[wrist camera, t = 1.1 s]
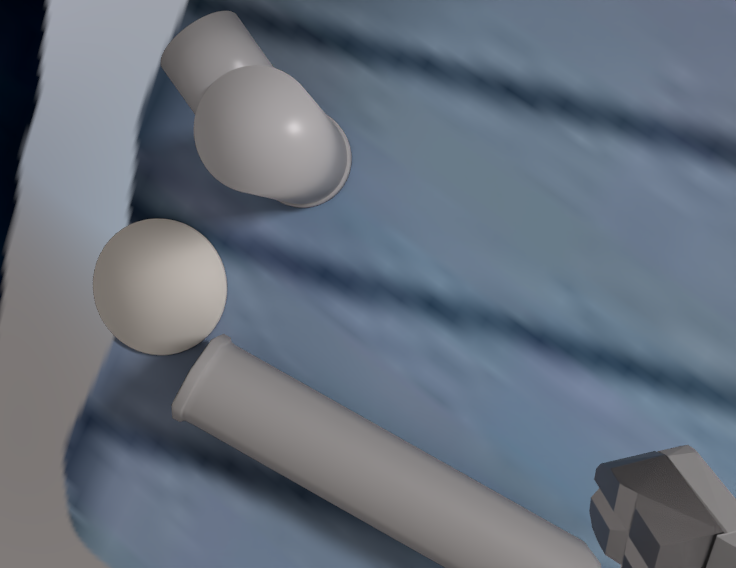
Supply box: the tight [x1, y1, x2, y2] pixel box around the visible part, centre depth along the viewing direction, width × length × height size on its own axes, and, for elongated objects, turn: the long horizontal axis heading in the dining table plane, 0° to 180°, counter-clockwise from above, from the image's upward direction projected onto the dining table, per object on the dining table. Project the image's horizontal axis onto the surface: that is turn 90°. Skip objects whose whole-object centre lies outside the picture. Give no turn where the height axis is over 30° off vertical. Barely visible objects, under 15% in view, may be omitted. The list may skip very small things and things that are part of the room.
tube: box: [172, 334, 601, 568], centre depth 38 cm, size 5×5×25 cm
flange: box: [93, 218, 227, 355], centre depth 40 cm, size 8×8×1 cm
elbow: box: [161, 11, 352, 208], centre depth 33 cm, size 8×6×11 cm
